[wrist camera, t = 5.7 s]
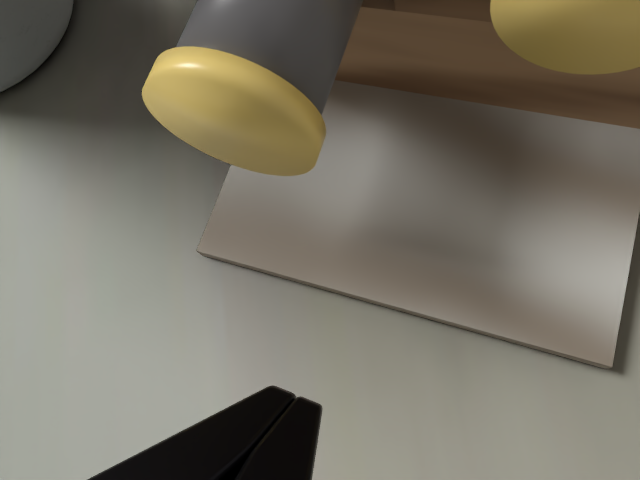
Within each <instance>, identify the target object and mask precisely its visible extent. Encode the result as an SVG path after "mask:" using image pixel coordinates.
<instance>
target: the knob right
mask: <svg viewBox="0 0 640 480" xmlns="http://www.w3.org/2000/svg"><path fill="white" fill-rule="evenodd" d="M490 14H491V20H492V23H493V26H494V28H495V30H496V32H497V34H498V36H499V37H500V38H501V40H502V41H503V42H504V43H505V44H506V45H507V46H508V47H509V48H510V49H511V50H512V51H513V52H515V53H516V54H517V55H519V56H521V57H522V58H524V59H525V60H527V61H529V62H532V63H534V64H536V65H539V66H541V67H544V68H547V69H551V70H555V71H559V72H565V73H572V74H589V75H594V74H608V73H616V72H621V71H626V70H631V69H634V68H638V67H640V0H491V2H490Z"/></svg>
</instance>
